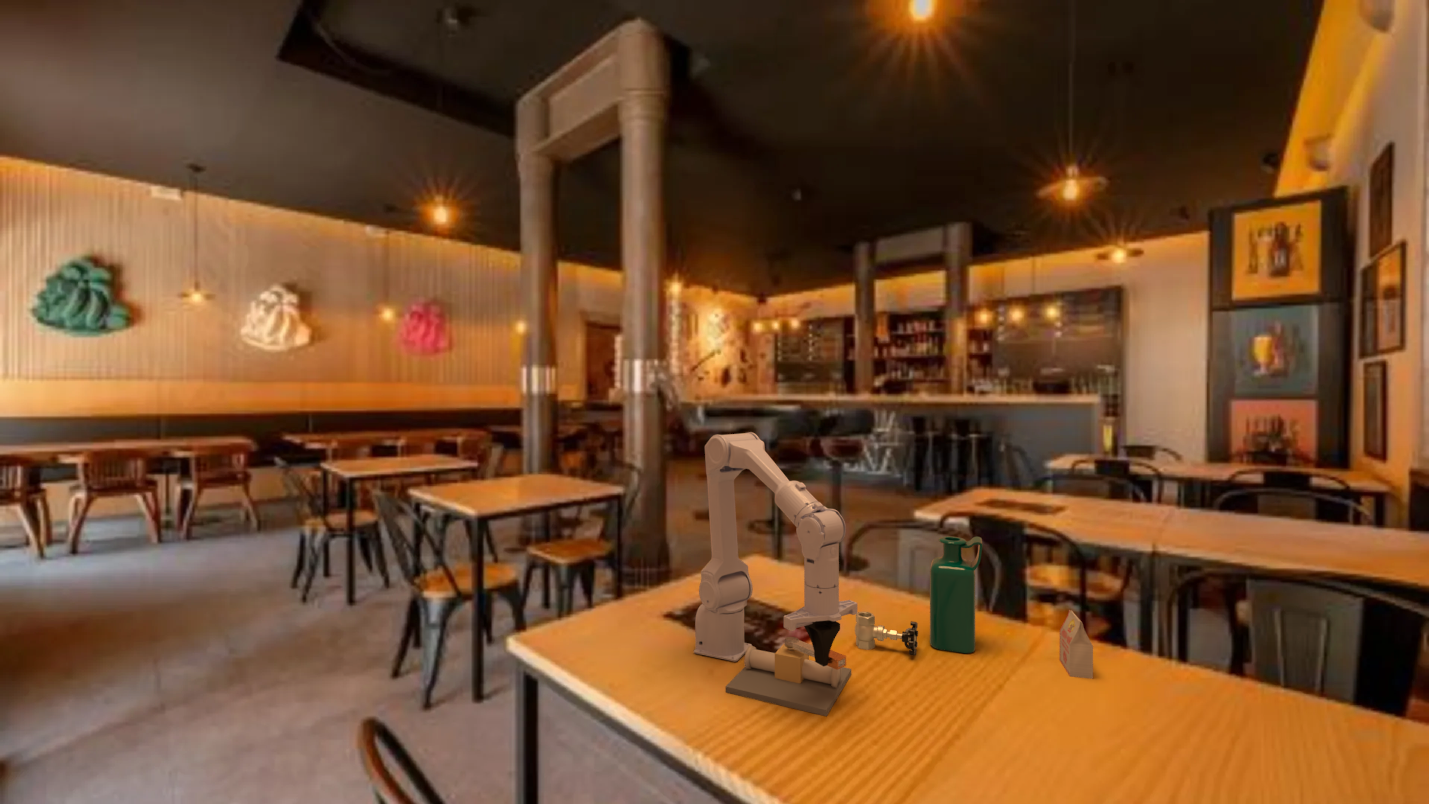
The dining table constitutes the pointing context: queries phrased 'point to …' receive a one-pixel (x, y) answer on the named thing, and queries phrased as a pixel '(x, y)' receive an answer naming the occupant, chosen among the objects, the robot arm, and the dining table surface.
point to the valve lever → (794, 644)
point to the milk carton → (1075, 648)
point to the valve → (882, 633)
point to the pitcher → (953, 596)
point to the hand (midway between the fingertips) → (821, 663)
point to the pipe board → (789, 680)
